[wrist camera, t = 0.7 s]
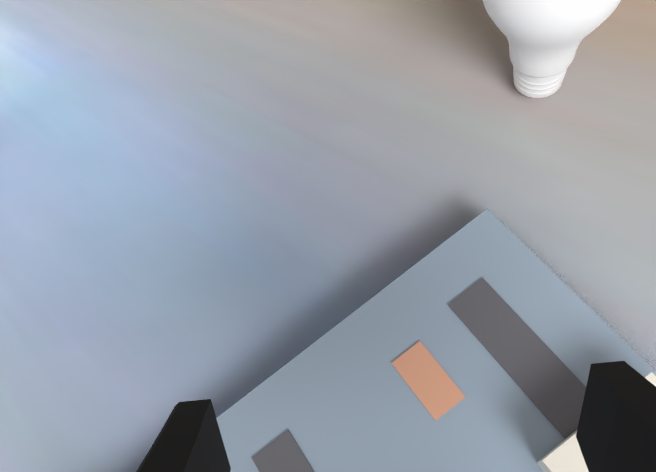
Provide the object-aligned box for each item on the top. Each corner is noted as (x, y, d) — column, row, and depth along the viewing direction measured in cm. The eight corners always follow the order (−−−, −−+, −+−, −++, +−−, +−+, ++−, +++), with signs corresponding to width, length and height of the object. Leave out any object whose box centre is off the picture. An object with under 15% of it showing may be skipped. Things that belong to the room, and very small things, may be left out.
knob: (726, 473, 20) (757, 472, 18) (619, 562, 19) (637, 573, 17) (635, 382, 22) (653, 370, 19) (536, 462, 21) (542, 460, 19)
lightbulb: (468, 60, 32) (463, -121, 23) (577, 32, 31) (620, -171, 22) (493, 146, 30) (500, -17, 20) (613, 119, 29) (681, -68, 19)
